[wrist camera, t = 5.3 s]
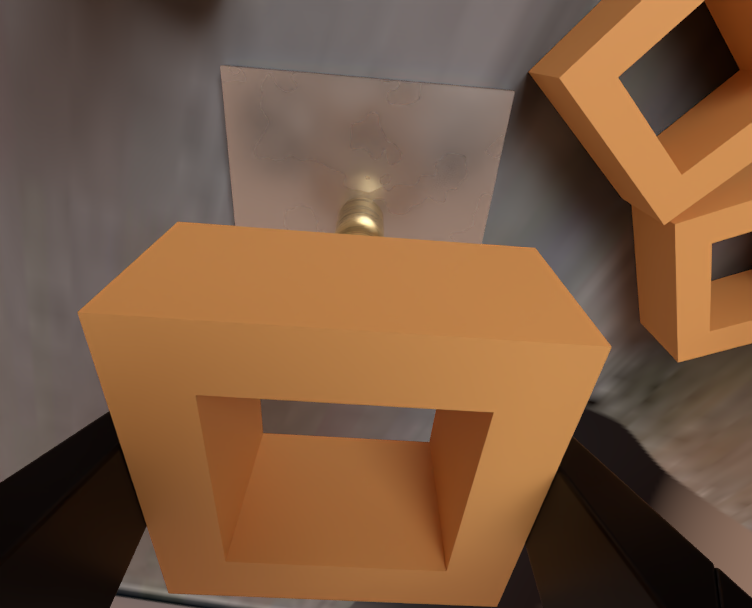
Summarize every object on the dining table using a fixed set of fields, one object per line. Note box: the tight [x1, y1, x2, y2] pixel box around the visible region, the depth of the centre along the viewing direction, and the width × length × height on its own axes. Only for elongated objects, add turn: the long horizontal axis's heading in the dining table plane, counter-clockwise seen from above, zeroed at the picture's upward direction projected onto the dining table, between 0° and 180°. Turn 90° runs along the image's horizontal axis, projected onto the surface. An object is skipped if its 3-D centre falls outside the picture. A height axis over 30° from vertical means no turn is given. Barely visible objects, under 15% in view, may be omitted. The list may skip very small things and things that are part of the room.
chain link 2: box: [631, 162, 752, 362], centre depth 17 cm, size 6×6×3 cm
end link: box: [78, 222, 611, 607], centre depth 8 cm, size 6×6×3 cm
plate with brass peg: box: [220, 65, 515, 244], centre depth 15 cm, size 10×10×6 cm
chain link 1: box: [529, 0, 752, 225], centre depth 14 cm, size 6×6×3 cm
